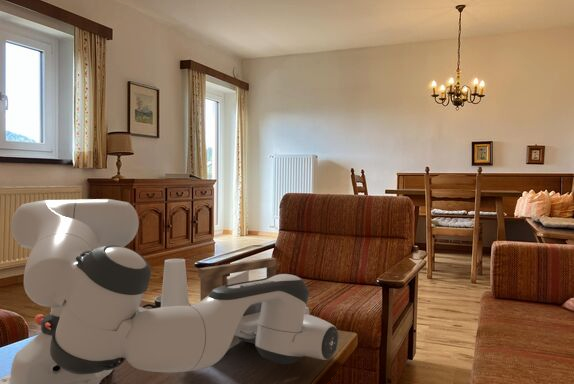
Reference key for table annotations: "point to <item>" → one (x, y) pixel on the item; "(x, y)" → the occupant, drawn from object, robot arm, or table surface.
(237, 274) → the door
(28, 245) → the robot arm
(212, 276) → the door frame
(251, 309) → the doorstop
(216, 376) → the table surface
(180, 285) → the champagne flute
